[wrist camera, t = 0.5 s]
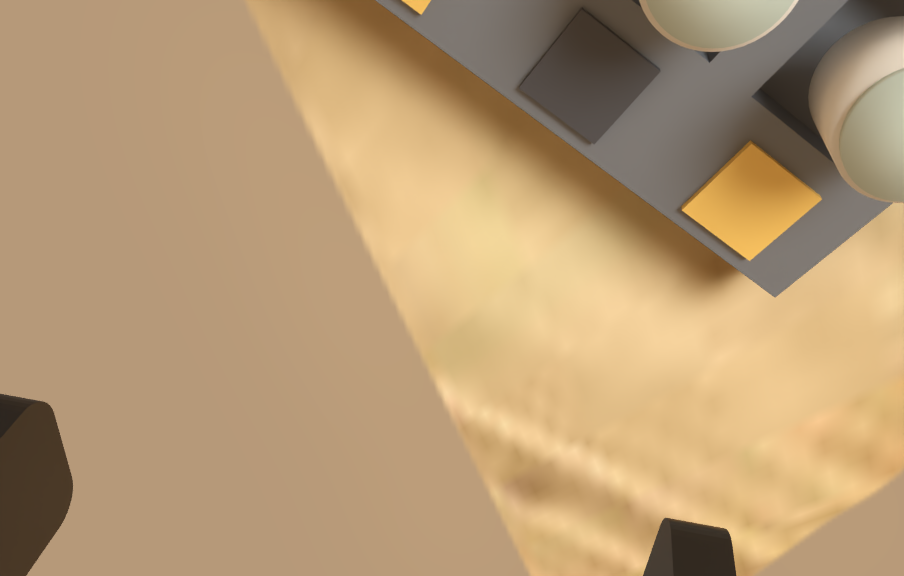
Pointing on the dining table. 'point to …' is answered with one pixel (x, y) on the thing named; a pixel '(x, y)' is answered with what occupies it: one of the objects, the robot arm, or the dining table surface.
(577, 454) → the dining table surface
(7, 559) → the robot arm
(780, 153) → the button board
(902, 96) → the button
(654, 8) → the button
